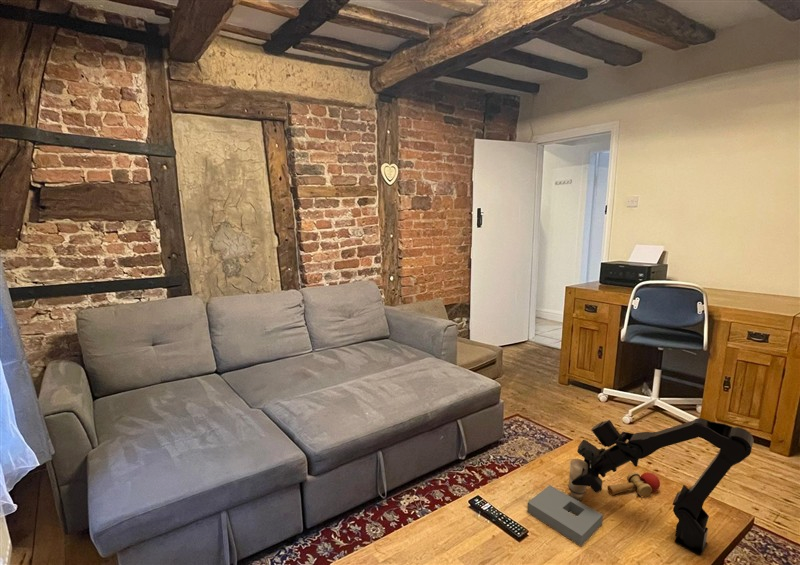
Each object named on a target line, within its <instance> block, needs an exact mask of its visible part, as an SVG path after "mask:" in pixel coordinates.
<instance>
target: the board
mask: <svg viewBox="0 0 800 565" xmlns="http://www.w3.org/2000/svg"><path fill="white" fill-rule="evenodd" d="M526 509H527V510H526V512H527V513H528V514H530V515H531V516H533V517H534V518H536V519H537V520H539V521H541V522H543V523H544V524H545V525H546V526H548V527H550V528H552V529H553V530H554V531H556V532H557V533H559V534H561V535H562V536H564V537H566V538H567V539H569V540H570V541H572V542H573V543H575V544H577V545H579V546H580V547H582V546H583V545H584V544H585V543H586V542H587V541H588V540H589V539H590V538H591V536H593V535H594V534H595V533H596V532H597V531H598V529H599V528H600V527H601V526H602V525H603V519H604V518H603V517H604V514H603V513H600V512H599V511H597V510H596V509H593V507H590V506H588V505H586V504H584V503H583V502H581V501H578V500H576V499H574V498H572V497H571V496H570V494H569V495H568V494H567V493H565V492H563V491H561V490H559V489H557V488H556V487H555V486H552V485H550V484H549V485H548V486H547V487H545V488H544V489H543V490H541V491H540V492H539V493H537V494H536V495H535V496H534V497H532V498H531V499H529V501H527V508H526ZM568 511H569V512H568Z"/></svg>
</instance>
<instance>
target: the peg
mask: <svg viewBox="0 0 800 565" xmlns="http://www.w3.org/2000/svg"><path fill="white" fill-rule="evenodd" d="M569 464H570V465H569V473H568V474H569V475H568V476H569V477H568V484H567V485H568V490H569V491H570V493H569V496H570V497H572V498H574V499H576V500H578V501H579V502H581V501H582V500H583V496H584V495H586V492H587V486H583V485H573V484H572V481H573V480H574V479H575V478H577V477H578V476H579V475H581V474H582V469H583V468H584V469H587V468H588V464H587V463H586V462H585V461H584V460H583V459H579V458H573V459H570V462H569Z"/></svg>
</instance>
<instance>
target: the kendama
mask: <svg viewBox="0 0 800 565" xmlns="http://www.w3.org/2000/svg"><path fill="white" fill-rule="evenodd" d="M626 481H627V482H624V483H617V484H611V485H607V491H608V493H609V494H610V495H611V496H615V495H616V494H620V493H623V492H626V491H630V490H632V489H633V488H634V489H635V488H636V493H637V495H639V496H640V497H641V496H646V495H647V496H646V497H648V496H650V494H651V493H652V492H653V493H654V492H657V491H658V490H659V489H660V486H661V482H660V479H659V478H658V476H657V475H655V474H654V473H652V472H644V473H642V474H641V475H640V474H639V473H638V472H636V471H633V472H630V473H629V474H628V475H627V476H626Z"/></svg>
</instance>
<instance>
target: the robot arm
mask: <svg viewBox="0 0 800 565" xmlns="http://www.w3.org/2000/svg"><path fill="white" fill-rule="evenodd" d="M591 432H592V433H593V434H594V436H595V437H596V439H597V440H598V441H599V443H600V444H601V445H602V446H603V447H601V448H600V449H599V448H598V447H597V446H596V445H594V444H592V443H591V442H590V441H587V439H582V441H581V442H580V443H579V445H578V446H577V454H579V455H580V456H581V457H583V459H584V460H583V461H585V462H586V463H587V464H588V468H587V469H584V468H583V469H582V474H581V475H579V476H578V477H577V478H575V479H574V480H573V481H572V484H573V485H583V486H586V487H590V488H591V489H592V490H593V492H594V493H600V492H601V491H602V490H603V489H602V488H603V480H602V479H601V478H605V477H606V474H607V473H609V472H611V471H612V472H613V473H615V472H617V469H618V468H619V467H621V466H623V465H625V464H627V463H629V462H631V463H632V465H633V466H634V467H638V465H639V460H640V459H641V460H642V459H645V458H646V457H649V456H650V455H652V454H653V453H655V452H656V451H658V450H660V449H662V448H664V447H665V448H666V447H669V446H673V445H677V444H680V443H683V442H686V441H690V440H693V439H698V438H700V439H703V440H705V441H706V442H708V443H709V444H711V445H712V446H714V447H716V448H717V449H719V450H718V453H716V455H715V456H714V457H713V459H712V460H711V461H710V463H709V465H707V467H706V468H705V469H704V471H703V472H702V473H701V475H700V476H699V478H697V480H696V481H695V483H694V484H693V485H692V486H691V487H688V486H686V485H685V484H682V487H681V490H680V491H678V492H676V495H675V497H674V499H673V502H672V505H673V508H672V512H673V514H674V516H675V517H676V518H677V520H678V522H677V523H676V526H675V534H674V536H675V539H674V543H675V544H677V545H679V546H681V547H682V548H685V549H687V550H689V551H691V552H692V553H694V554H696V555H698V556H702V554H703V552H705V549H706V547H707V546H708V542H707V536H708V529H709V528H708V527H707V524H708V521H709V518H710V516H709V514H708V513H707V511H706V510H705V509H704V508H703V505H704V503H705V501H706V500H707V499H708V497H709V496H711V493H712V492H713V491H714V490H715V488H716V487H717V486H718V484H719V483H720V482H721V481H722V480H723V478H724V477H725V476H726V474H727V473H728V472H729V471H730V469H731V468H732V467H733V466H735V465H738V464H739V463H741V462H742V461H744V460H746V458H748V457H749V456H750V455H751V453H752V450H753V445H754V442H755V441H754V437H753V435H752V434H751V433H750V432H749V431H748V430H747V429H745V428H742V427H739V426H735V427H734V426H731V425H729V424H726V423H721V422H716V421H710V420H708V419H706V418H702V417H699V418H695V419H693V420H690V421H687V422H685V423H681V424H678V425H674V426H671V427H669V428H664V429H662V430H658V431H652V432H650V431H644V432H635V433H632V432H627V431H622V432H621V433H620V432H619V431H618V430H617V428H616V427H615V425H614V424H613V423H612V421H611V420H610V419H608V420H605V421H600V422H599V423H597V424H596V425H595V426H593V427H592V428H591ZM606 447H607V449H606ZM599 475H600V476H601V477H600V476H599Z"/></svg>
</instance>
